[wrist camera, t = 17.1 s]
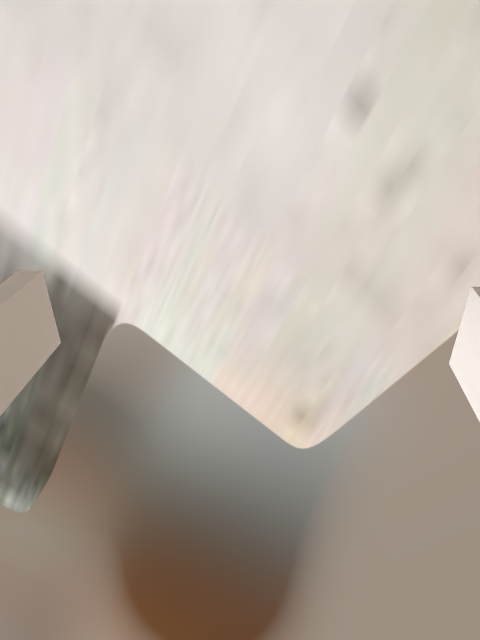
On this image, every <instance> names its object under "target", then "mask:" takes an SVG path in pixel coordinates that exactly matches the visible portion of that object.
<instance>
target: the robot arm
mask: <svg viewBox="0 0 480 640" xmlns="http://www.w3.org/2000/svg"><path fill="white" fill-rule="evenodd" d="M60 343H61V342H60V338H59V334H58V330H57V326H56V322H55V319H54V315H53V311H52V307H51V303H50V299H49V295H48V291H47V288H46V284H45V280H44V276H43V272H42V271H35V270H19V271H17V272H16V273H15V274H13V275H12V276H11V277H9V278H8V279H7V280H5V281H4V282H3V283H1V284H0V416H1V414H2V413H3V412H4V411H5V409H6V408H7V407H8V406H9V405H10V403H11V402H12V401H13V400H14V399H15V397H16V396H17V395H18V394H19V393H20V391H21V390H22V389H23V388H24V387H25V385H26V384H27V383H28V382H29V381H30V379H31V378H32V377H33V376H34V375H35V373H36V372H37V371H38V370H39V369H40V367H41V366H42V365H43V364H44V363H45V361H46V360H47V359H48V358H49V357H50V355H51V354H52V353H53V352H54V351H55V349H56V348H57V347H58V346H59V345H60ZM449 364H450V366H451V368H452V370H453V372H454V374H455V376H456V378H457V379H458V382H459V383H460V385H461V387H462V389H463V391H464V393H465V395H466V397H467V399H468V401H469V402H470V404H471V406H472V408H473V410H474V412H475V414H476V416H477V418H478V420H479V422H480V287H471V290H470V293H469V297H468V300H467V304H466V307H465V311H464V314H463V317H462V321H461V324H460V328H459V331H458V335H457V338H456V342H455V345H454V349H453V352H452V355H451V359H450V362H449Z"/></svg>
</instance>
